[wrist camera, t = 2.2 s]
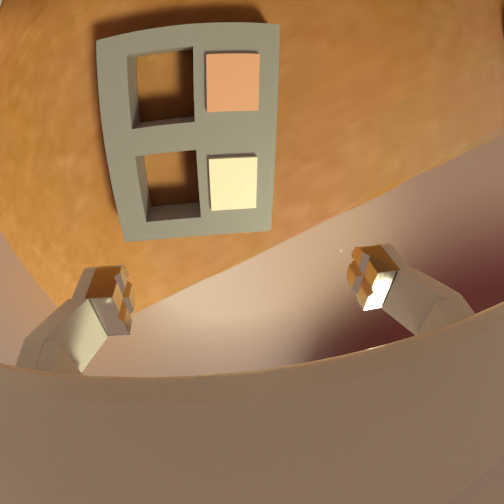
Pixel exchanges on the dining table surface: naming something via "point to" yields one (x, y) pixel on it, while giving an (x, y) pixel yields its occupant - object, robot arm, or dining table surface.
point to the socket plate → (195, 128)
